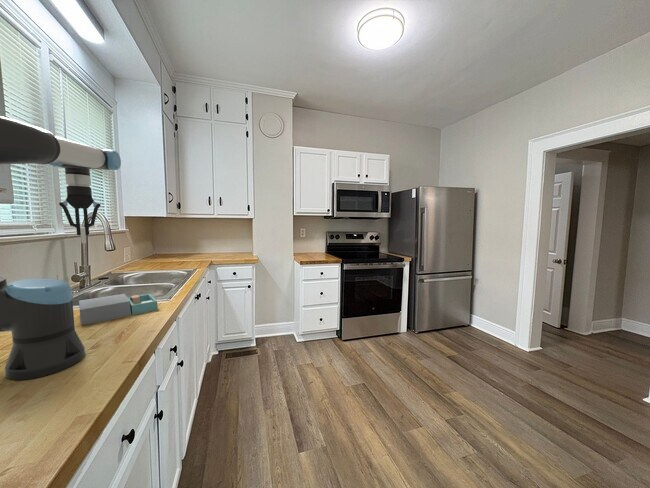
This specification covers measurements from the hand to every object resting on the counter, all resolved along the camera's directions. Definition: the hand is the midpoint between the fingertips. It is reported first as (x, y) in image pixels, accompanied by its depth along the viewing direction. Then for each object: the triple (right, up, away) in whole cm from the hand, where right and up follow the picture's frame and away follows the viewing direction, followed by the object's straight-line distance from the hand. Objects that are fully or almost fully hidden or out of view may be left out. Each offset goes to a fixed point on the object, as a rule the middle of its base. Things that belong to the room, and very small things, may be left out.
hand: (83, 243), depth 111 cm
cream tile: (+24, -26, +4) cm, 35 cm away
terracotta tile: (+16, -26, +6) cm, 31 cm away
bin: (+20, -29, +6) cm, 36 cm away
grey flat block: (+11, -30, -3) cm, 32 cm away
